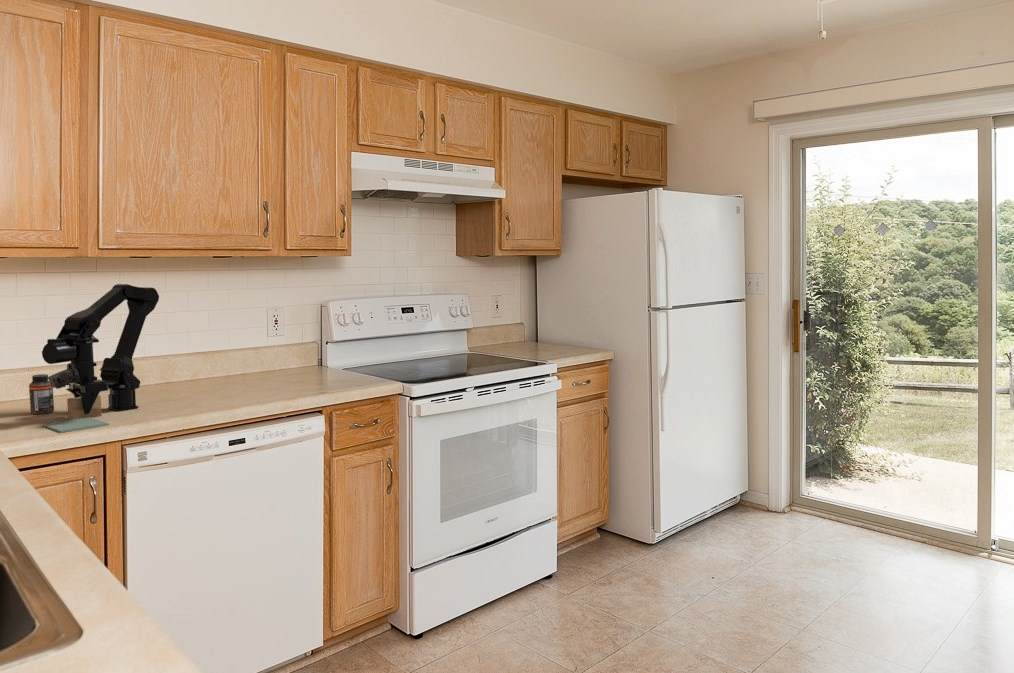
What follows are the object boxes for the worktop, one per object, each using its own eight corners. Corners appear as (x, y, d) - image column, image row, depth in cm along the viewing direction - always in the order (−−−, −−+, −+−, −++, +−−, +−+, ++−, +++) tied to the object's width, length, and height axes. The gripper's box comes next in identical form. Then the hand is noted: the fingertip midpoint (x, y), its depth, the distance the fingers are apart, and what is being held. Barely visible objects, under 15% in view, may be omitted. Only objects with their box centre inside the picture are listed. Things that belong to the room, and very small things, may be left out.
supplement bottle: (31, 411, 218) (28, 374, 217) (54, 410, 221) (52, 373, 220) (30, 415, 213) (27, 377, 212) (54, 413, 216) (51, 375, 215)
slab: (97, 414, 215) (96, 394, 214) (101, 416, 213) (100, 395, 213) (68, 419, 209) (67, 398, 208) (71, 420, 207) (70, 399, 206)
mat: (89, 419, 209) (89, 417, 209) (108, 424, 202) (108, 423, 202) (43, 426, 200) (42, 424, 200) (61, 432, 192) (60, 430, 192)
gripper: (37, 359, 209) (40, 413, 210) (64, 365, 197) (68, 422, 199) (79, 355, 217) (82, 407, 219) (108, 361, 206) (110, 415, 207)
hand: (84, 413), depth 211 cm, fingers closed on slab, 2 cm apart
